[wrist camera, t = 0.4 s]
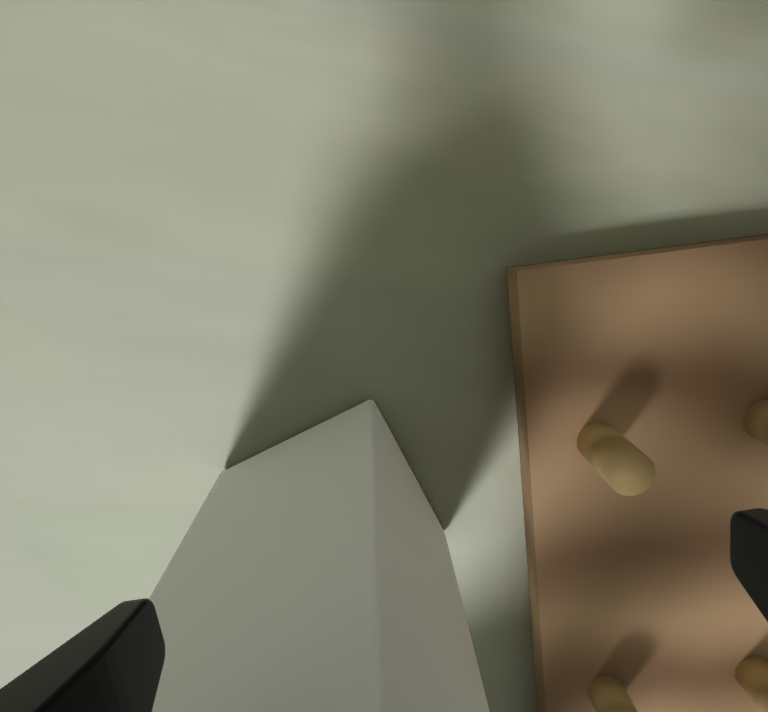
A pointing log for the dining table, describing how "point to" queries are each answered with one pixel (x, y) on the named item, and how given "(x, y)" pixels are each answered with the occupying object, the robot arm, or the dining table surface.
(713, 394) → the tool rest
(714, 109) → the dining table surface
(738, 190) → the dining table surface
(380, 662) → the milk carton
